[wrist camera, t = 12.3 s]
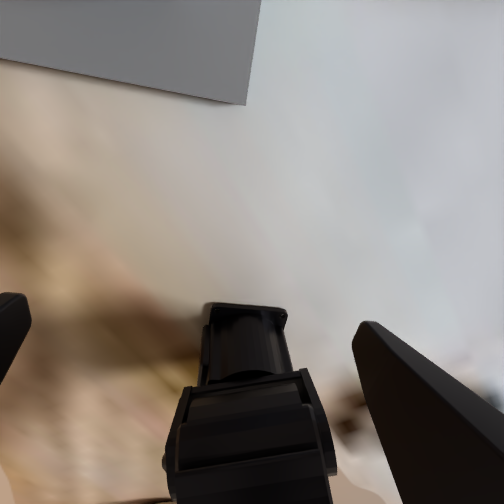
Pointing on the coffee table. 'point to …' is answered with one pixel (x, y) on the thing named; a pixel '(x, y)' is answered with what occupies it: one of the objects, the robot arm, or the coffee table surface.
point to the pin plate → (139, 41)
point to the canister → (167, 503)
